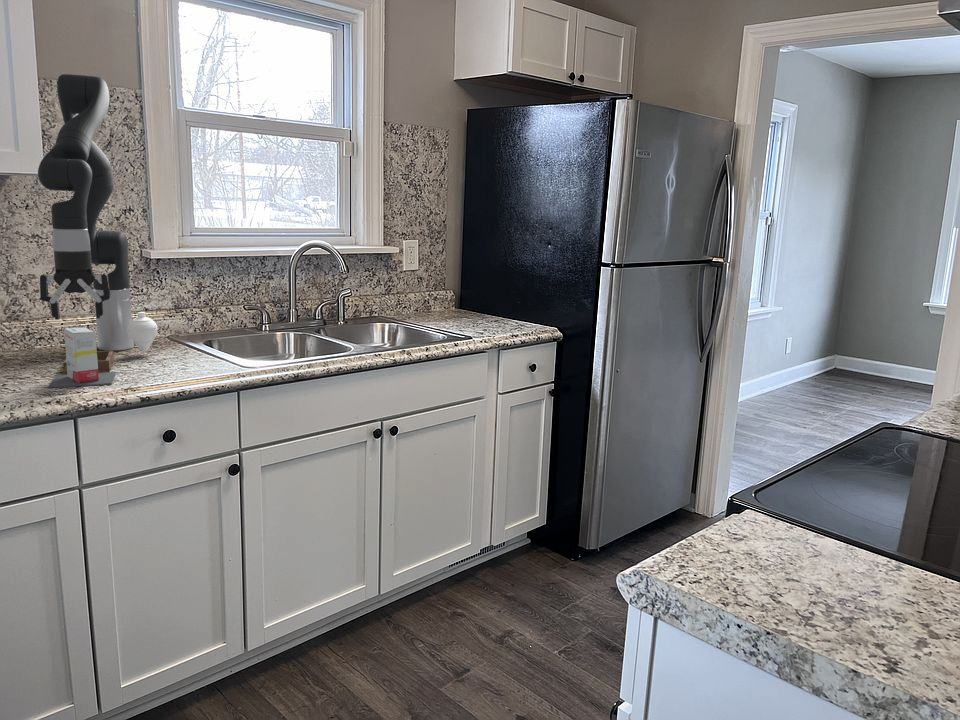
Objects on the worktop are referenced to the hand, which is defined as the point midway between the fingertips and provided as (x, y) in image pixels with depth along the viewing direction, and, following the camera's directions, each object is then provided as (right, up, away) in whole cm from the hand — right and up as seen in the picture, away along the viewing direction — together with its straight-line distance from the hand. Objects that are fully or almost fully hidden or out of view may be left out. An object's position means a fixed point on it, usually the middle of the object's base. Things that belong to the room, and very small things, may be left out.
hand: (78, 318), depth 176 cm
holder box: (-5, -12, +16) cm, 20 cm away
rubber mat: (0, -15, +3) cm, 15 cm away
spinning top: (+1, -9, +33) cm, 34 cm away
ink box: (0, -14, +3) cm, 15 cm away
